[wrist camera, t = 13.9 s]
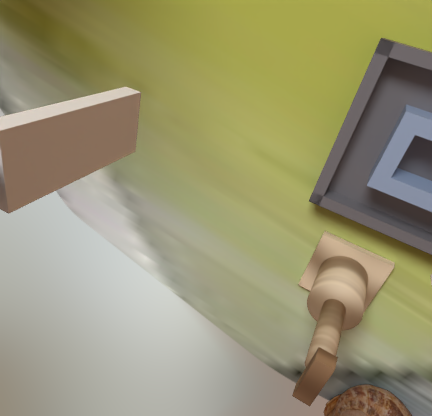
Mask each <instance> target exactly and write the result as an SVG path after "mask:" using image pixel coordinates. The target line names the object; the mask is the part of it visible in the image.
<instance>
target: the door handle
mask: <svg viewBox="0 0 432 416" xmlns="http://www.w3.org/2000/svg"><path fill="white" fill-rule="evenodd" d="M393 268H394V262H392V261H390V260H388V259H386V258H383V257H381V256H379V255H377V254H375V253H372V252H370V251H368V250H366V249H364V248H361V247H359V246H357V245H355V244H353V243H350V242H348V241H346V240H344V239H342V238H339V237H337V236H335V235H333V234H331V233H328V232H326V231H324V234H323V236H322V238H321V240H320V242H319V244H318V246H317V248H316V250H315V252H314V254H313V256H312V258H311V260H310V262H309V264H308V266H307V268H306V270H305V272H304V274H303V276H302V278H301V280H300V282H299V284H298V285H300V286H302V287H303V288H305V289H307V290H309V291H310V294H309V296H308V300H307V306H308V310H309V312H310V314H311V315H312V317H313V318H314V319H315V320H316V321H317V325H316V328H315V331H314V335H313V338H312V341H311V344H310V347H309V350H308V354H307V357H306V360H305V366H306V369H305V370H304V372H303V373H302V375H301V377H300V378H299V380H298V381H297V383H296V386H295V389H294V392H293V397H295V398H297V399H298V400H300V401H302V402H303V403H305V404H307V405H308V406H310V405H311V404H312V402H313V401H314V399H315V398H316V396H317V395H318V394H319V392H320V391H321V389H322V388H323V386H324V385H325V383H326V382H327V381H328V379H329V378H330V376H331V375H332V373H333V372H334V370H335V367H336V362H337V358H338V357H336V354H337V349H338V345H339V340H340V336H341V331H342V330H348V329H351V328H354V327H355V326H357V325H358V324H359V323H360V321H361V320H362V317H363V313H364V312H365V310H366V309H367V307H368V306H369V304H370V303H371V301H372V300H373V298H374V297H375V295H376V294H377V292H378V291H379V289H380V288H381V286H382V285H383V283H384V282H385V280H386V279H387V277H388V276H389V274H390V273H391V271H392V270H393Z"/></svg>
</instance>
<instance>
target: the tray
mask: <svg viewBox="0 0 432 416" xmlns="http://www.w3.org/2000/svg"><path fill="white" fill-rule="evenodd" d="M406 104H407V105H409V106H412V107H415V108H418V109H421V110H424V111H427V112H430V113H432V52H429V51H426V50H423V49H419V48H416V47H412V46H409V45H406V44H402V43H399V42H395V41H392V40H389V39H385V38H381V39H380V42H379V44H378V46H377V48H376V51H375V53H374V55H373V57H372V60H371V62H370V64H369V66H368V69H367V71H366V73H365V75H364V78H363V80H362V82H361V84H360V87H359V89H358V91H357V93H356V96H355V98H354V100H353V102H352V105H351V107H350V109H349V111H348V114H347V116H346V118H345V120H344V123H343V125H342V127H341V129H340V132H339V134H338V136H337V139H336V141H335V143H334V145H333V148H332V150H331V152H330V154H329V157H328V159H327V161H326V163H325V166H324V168H323V170H322V172H321V175H320V177H319V179H318V181H317V184H316V186H315V188H314V190H313V193H312V195H311V197H310V199H309V201H310V202H312V203H314V204H317V205H319V206H321V207H323V208H326V209H328V210H330V211H333V212H335V213H337V214H340V215H342V216H344V217H346V218H349V219H351V220H353V221H356V222H358V223H360V224H362V225H365V226H367V227H369V228H372V229H374V230H376V231H378V232H381V233H383V234H385V235H388V236H390V237H392V238H394V239H397V240H399V241H401V242H404V243H406V244H408V245H410V246H413V247H415V248H417V249H420V250H422V251H424V252H426V253H429V254H431V255H432V212H430V211H428V210H425V209H423V208H421V207H418V206H416V205H413V204H411V203H408V202H406V201H403V200H401V199H398V198H396V197H394V196H391V195H389V194H386V193H384V192H381V191H379V190H376V189H374V188H371V187H369V186H367V183H368V179H369V176H370V172H371V171H372V169H373V167H374V165H375V163H376V161H377V159H378V157H379V155H380V153H381V152H382V150H383V148H384V146H385V144H386V142H387V140H388V138H389V136H390V134H391V132H392V131H393V129H394V127H395V125H396V123H397V121H398V119H399V117H400V115H401V113H402V111H403V110H404V108H405V106H406ZM397 168H399V169H402V170H405V171H407V172H410V173H412V174H415V175H418V176H420V177H423V178H425V179H428V180H431V181H432V141H431V140H428V139H425V138H422V137H419V136H417V135H415V136H414V138H413V140H412V141H411V143H410V145H409V147H408V148H407V150H406V152H405V154H404V156H403V157H402V159H401V161H400V163H399V164H398V166H397Z"/></svg>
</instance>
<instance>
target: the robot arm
mask: <svg viewBox="0 0 432 416" xmlns="http://www.w3.org/2000/svg"><path fill="white" fill-rule="evenodd" d="M140 97H141V92H139V91H136V90H134V89H131V88H128V87H123V88H118V89H114V90H110V91H106V92H102V93H98V94H93V95H89V96H85V97H81V98H77V99H72V100H68V101H64V102H60V103H56V104H51V105H47V106H43V107H39V108H35V109H31V110H26V111H22V112H18V113H14V114H10V115H5V116H1V117H0V209H1V210H3V211H5V212H7V213H11V212H13V211H15V210H17V209H19V208H21V207H23V206H25V205H27V204H29V203H31V202H33V201H35V200H37V199H39V198H41V197H43V196H45V195H47V194H49V193H51V192H54V191H56V190H58V189H60V188H62V187H64V186H66V185H68V184H70V183H72V182H74V181H76V180H78V179H80V178H82V177H84V176H86V175H88V174H90V173H92V172H94V171H96V170H99V169H101V168H103V167H105V166H107V165H109V164H111V163H113V162H115V161H117V160H119V159H121V158H123V157H125V156H127V155H129V154H131V153H133V152H135V149H136V139H137V129H138V118H139V108H140ZM431 283H432V274H431Z"/></svg>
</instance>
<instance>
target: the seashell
mask: <svg viewBox="0 0 432 416" xmlns="http://www.w3.org/2000/svg"><path fill="white" fill-rule="evenodd" d="M324 415H325V416H412V415H411V413H410V412H409V410H408V409H407V408H406V406H405V405H404V404H403V403H402V402H401V401H400V400H399V399H398V398H397V397H396V396H395V395H394V394H392V393H391V392H389V391H388V390H385V389H382V388H379V387H376V386H373V385H368V384H365V385H358V386H355V387H352V388H350V389H348V390H346V391H345V392H344V393H343V394H340V395H338V396H336V397H334V398H333V399H332V400H330V401H329V402H327V404H326V407H325V410H324Z"/></svg>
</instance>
